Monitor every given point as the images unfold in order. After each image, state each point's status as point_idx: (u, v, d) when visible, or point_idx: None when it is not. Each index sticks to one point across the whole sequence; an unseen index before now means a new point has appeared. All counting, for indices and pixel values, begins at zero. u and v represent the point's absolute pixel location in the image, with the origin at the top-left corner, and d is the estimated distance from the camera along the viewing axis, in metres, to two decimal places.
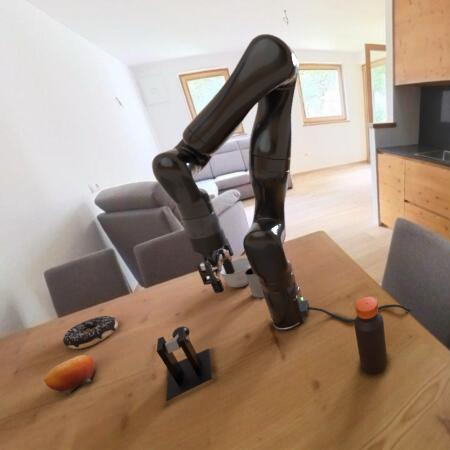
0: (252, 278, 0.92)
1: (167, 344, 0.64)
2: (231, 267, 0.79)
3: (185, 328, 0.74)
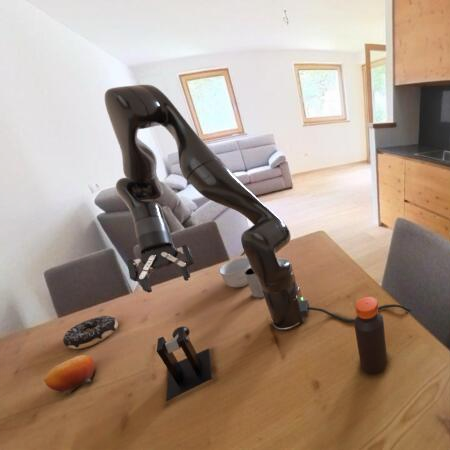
0: (252, 278, 0.92)
1: (167, 344, 0.64)
2: (182, 273, 0.80)
3: (185, 328, 0.74)
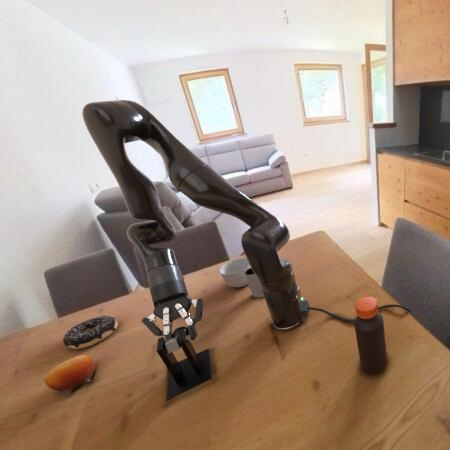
0: (252, 278, 0.92)
1: (167, 344, 0.64)
2: (189, 332, 0.74)
3: (185, 328, 0.74)
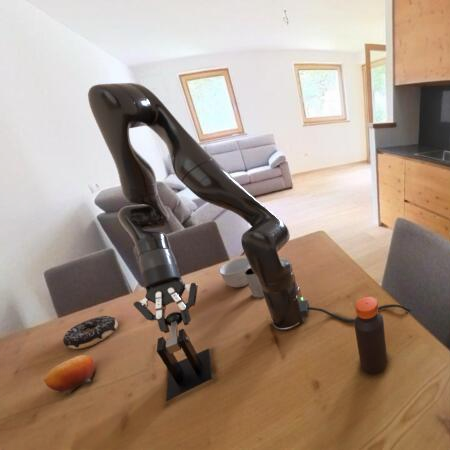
0: (252, 278, 0.92)
1: (168, 347, 0.64)
2: (182, 317, 0.73)
3: (179, 315, 0.73)
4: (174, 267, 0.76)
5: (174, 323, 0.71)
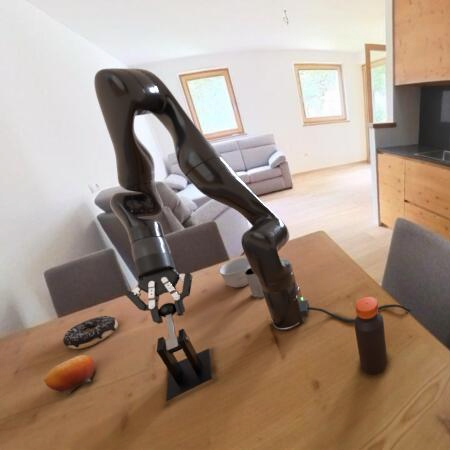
0: (252, 278, 0.92)
1: (169, 350, 0.64)
2: (176, 307, 0.70)
3: (173, 307, 0.70)
4: (168, 256, 0.73)
5: (169, 317, 0.69)
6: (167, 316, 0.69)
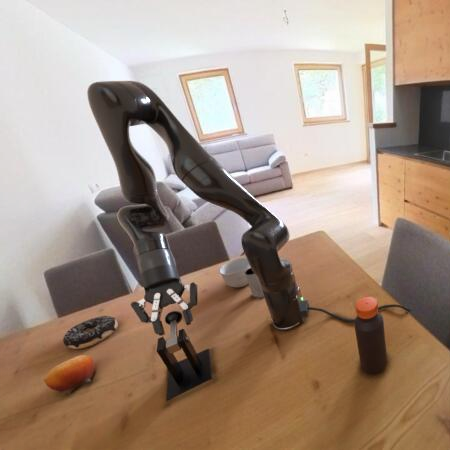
0: (252, 278, 0.92)
1: (168, 347, 0.64)
2: (184, 317, 0.72)
3: (178, 314, 0.72)
4: (173, 268, 0.75)
5: (174, 322, 0.71)
6: (171, 322, 0.71)
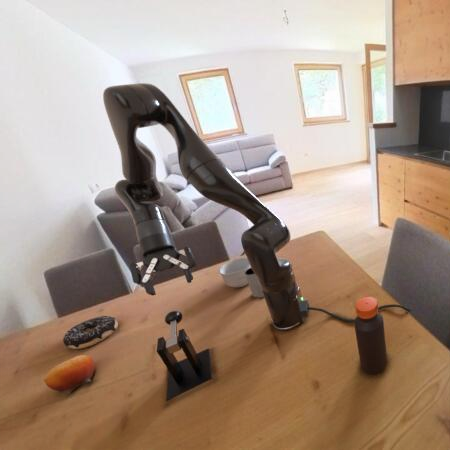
0: (252, 278, 0.92)
1: (168, 347, 0.64)
2: (185, 275, 0.81)
3: (178, 314, 0.72)
4: (168, 236, 0.82)
5: (174, 322, 0.71)
6: (171, 322, 0.71)
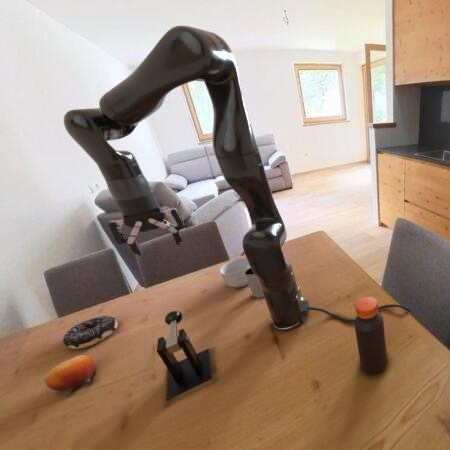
0: (252, 278, 0.92)
1: (168, 347, 0.64)
2: (174, 238, 0.77)
3: (178, 314, 0.72)
4: (151, 197, 0.71)
5: (174, 322, 0.71)
6: (171, 322, 0.71)
